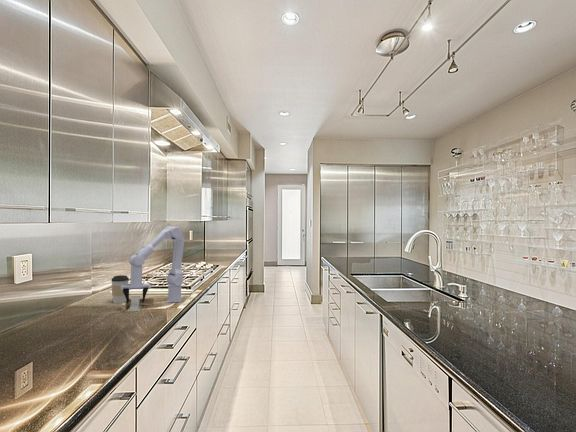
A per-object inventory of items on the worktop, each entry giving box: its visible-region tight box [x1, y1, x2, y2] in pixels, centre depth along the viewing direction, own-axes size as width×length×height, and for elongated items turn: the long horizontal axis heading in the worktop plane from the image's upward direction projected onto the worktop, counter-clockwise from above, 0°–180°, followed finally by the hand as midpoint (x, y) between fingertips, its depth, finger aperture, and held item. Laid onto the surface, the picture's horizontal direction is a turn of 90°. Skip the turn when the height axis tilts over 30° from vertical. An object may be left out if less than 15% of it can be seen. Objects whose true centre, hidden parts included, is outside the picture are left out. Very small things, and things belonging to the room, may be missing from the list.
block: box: [129, 295, 141, 312], centre depth 172 cm, size 7×4×6 cm, turn 19°
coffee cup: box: [111, 274, 130, 304], centre depth 187 cm, size 9×9×15 cm
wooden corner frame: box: [120, 297, 154, 313], centre depth 175 cm, size 13×14×4 cm
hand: (135, 302), depth 175 cm, fingers open, 7 cm apart
